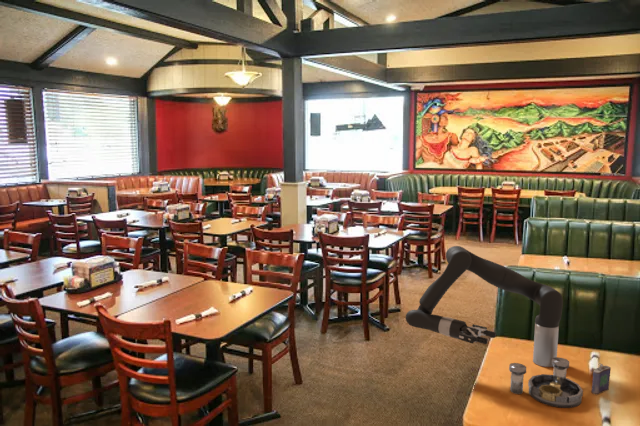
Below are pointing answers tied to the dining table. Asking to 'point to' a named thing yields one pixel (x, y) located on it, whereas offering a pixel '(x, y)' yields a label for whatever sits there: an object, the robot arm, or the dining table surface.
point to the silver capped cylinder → (517, 377)
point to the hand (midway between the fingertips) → (491, 338)
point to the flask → (601, 379)
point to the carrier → (556, 387)
